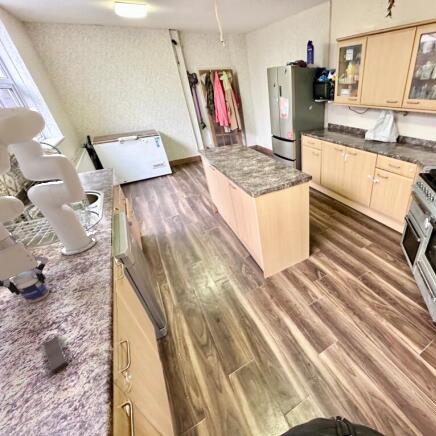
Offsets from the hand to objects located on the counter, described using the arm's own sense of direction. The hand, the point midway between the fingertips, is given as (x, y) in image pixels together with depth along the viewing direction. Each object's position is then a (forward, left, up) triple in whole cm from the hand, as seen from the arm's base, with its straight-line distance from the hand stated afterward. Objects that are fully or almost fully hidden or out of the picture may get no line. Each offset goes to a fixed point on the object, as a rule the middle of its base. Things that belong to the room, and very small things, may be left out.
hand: (30, 286), depth 81 cm
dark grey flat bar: (+12, +32, -5) cm, 35 cm away
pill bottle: (0, 0, -5) cm, 5 cm away
